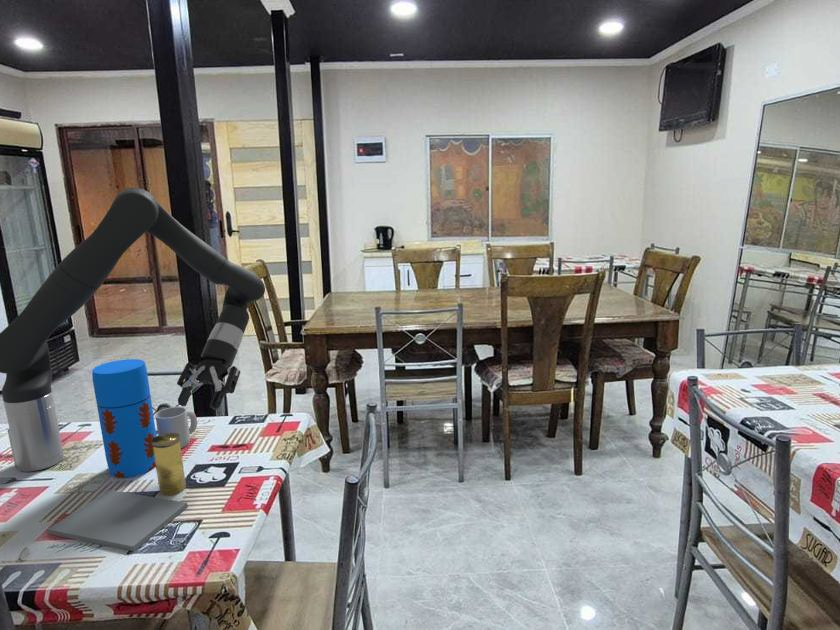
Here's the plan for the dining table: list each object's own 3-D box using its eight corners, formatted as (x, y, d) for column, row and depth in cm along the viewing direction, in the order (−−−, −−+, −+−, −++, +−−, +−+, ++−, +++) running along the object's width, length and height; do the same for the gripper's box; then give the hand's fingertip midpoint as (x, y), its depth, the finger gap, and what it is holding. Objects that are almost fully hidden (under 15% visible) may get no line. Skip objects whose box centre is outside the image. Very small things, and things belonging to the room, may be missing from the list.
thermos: (138, 480, 117) (121, 375, 111) (97, 476, 119) (79, 373, 113) (170, 457, 127) (156, 359, 122) (132, 453, 129) (116, 357, 124)
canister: (153, 493, 111) (145, 442, 109) (171, 480, 116) (164, 431, 114) (174, 497, 110) (167, 445, 107) (191, 484, 115) (185, 434, 112)
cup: (154, 446, 133) (149, 413, 131) (191, 432, 141) (187, 401, 139) (168, 454, 129) (164, 420, 127) (206, 439, 136) (202, 407, 134)
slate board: (48, 533, 99) (47, 529, 98) (109, 493, 112) (109, 489, 111) (134, 551, 93) (133, 546, 93) (187, 507, 106) (187, 502, 106)
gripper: (189, 336, 127) (161, 397, 118) (240, 339, 123) (214, 403, 115) (206, 350, 133) (180, 410, 124) (255, 354, 129) (231, 415, 121)
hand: (197, 406), depth 120 cm, fingers open, 8 cm apart
